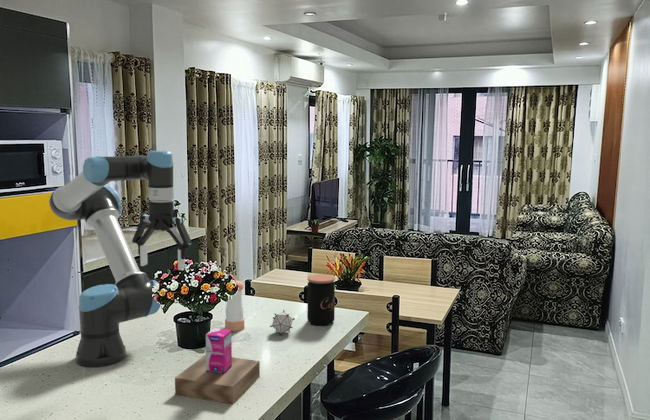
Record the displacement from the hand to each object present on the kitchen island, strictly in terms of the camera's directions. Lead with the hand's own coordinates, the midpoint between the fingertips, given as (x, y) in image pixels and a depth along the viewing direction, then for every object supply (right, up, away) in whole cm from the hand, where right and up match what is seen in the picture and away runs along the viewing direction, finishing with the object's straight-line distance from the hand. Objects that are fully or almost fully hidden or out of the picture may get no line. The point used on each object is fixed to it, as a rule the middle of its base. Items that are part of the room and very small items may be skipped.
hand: (162, 267), depth 174 cm
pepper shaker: (+17, -27, +35) cm, 47 cm away
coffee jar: (+50, -26, +43) cm, 71 cm away
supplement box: (+21, -29, -14) cm, 38 cm away
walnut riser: (+20, -33, -13) cm, 41 cm away
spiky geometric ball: (+36, -28, +30) cm, 54 cm away
